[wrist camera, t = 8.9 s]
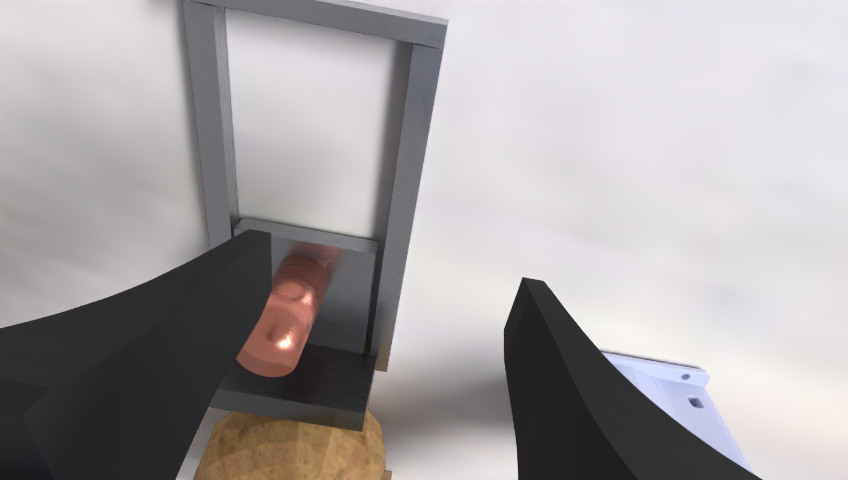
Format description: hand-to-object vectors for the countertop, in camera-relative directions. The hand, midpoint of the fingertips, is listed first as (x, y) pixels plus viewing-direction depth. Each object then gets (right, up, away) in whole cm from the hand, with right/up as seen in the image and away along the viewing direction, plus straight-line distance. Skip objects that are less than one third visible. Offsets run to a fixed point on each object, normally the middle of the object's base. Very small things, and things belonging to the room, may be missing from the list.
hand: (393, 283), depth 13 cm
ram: (-6, -2, +13) cm, 14 cm away
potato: (-8, -10, +19) cm, 23 cm away
